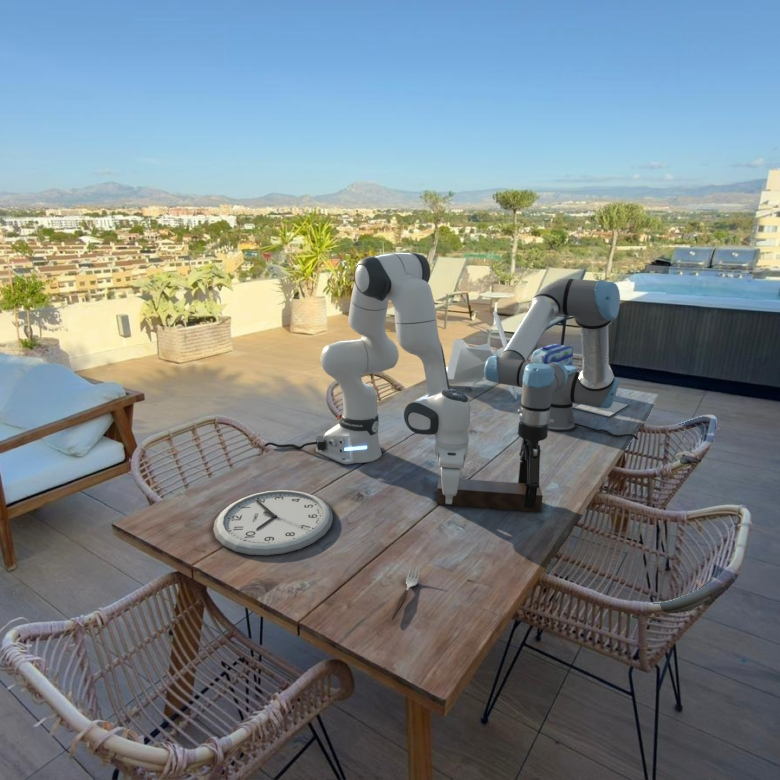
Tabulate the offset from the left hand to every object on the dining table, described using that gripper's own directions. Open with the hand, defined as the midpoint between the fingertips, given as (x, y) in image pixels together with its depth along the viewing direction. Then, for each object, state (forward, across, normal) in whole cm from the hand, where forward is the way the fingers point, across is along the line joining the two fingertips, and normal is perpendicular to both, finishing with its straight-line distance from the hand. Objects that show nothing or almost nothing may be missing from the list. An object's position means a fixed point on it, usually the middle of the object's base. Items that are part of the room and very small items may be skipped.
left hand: (448, 494), depth 147 cm
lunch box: (+2, -115, +47) cm, 124 cm away
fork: (+2, +42, -8) cm, 43 cm away
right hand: (-2, 0, +21) cm, 21 cm away
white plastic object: (+2, -103, +13) cm, 104 cm away
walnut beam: (+2, 0, +11) cm, 11 cm away
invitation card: (+2, -91, +65) cm, 112 cm away
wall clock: (+2, +18, -44) cm, 48 cm away
